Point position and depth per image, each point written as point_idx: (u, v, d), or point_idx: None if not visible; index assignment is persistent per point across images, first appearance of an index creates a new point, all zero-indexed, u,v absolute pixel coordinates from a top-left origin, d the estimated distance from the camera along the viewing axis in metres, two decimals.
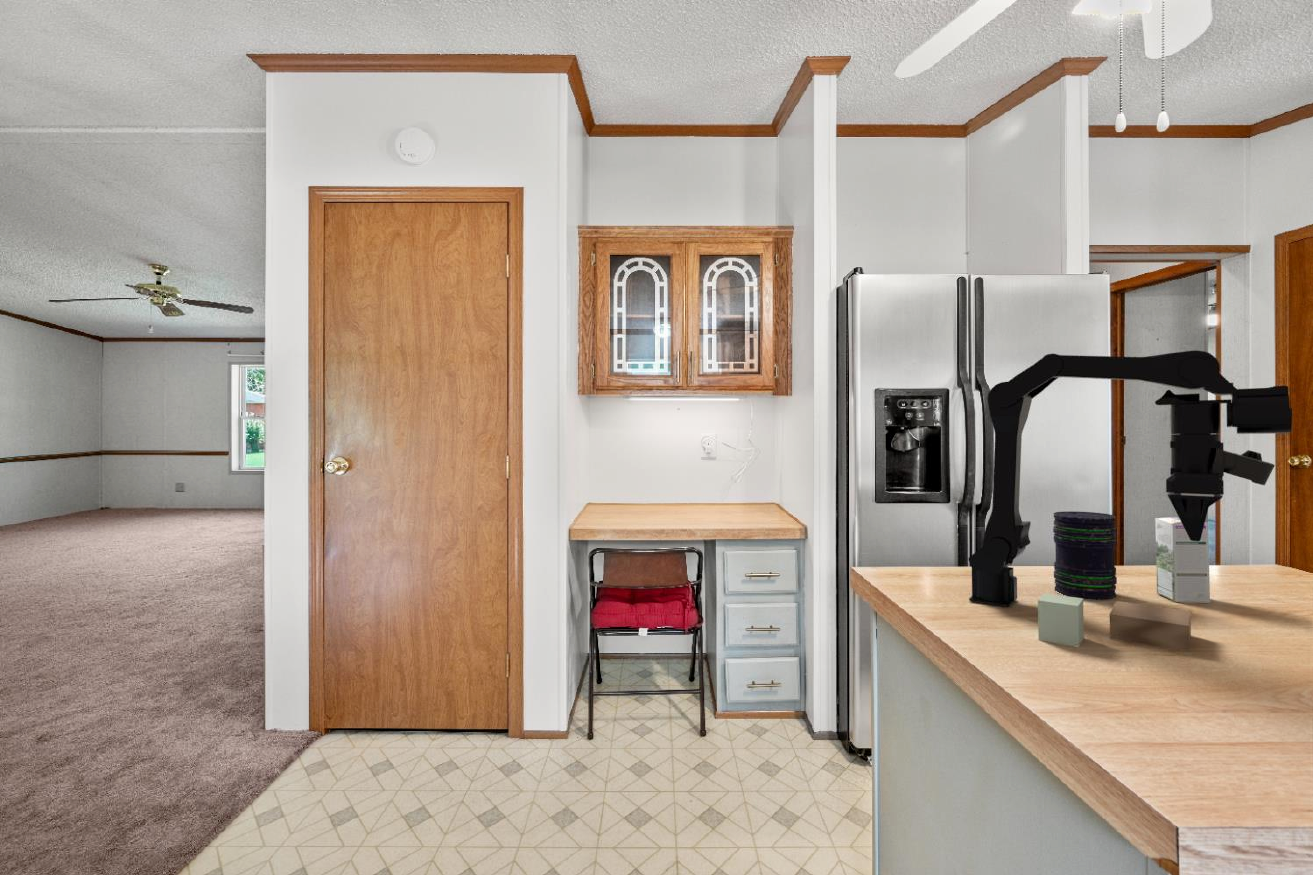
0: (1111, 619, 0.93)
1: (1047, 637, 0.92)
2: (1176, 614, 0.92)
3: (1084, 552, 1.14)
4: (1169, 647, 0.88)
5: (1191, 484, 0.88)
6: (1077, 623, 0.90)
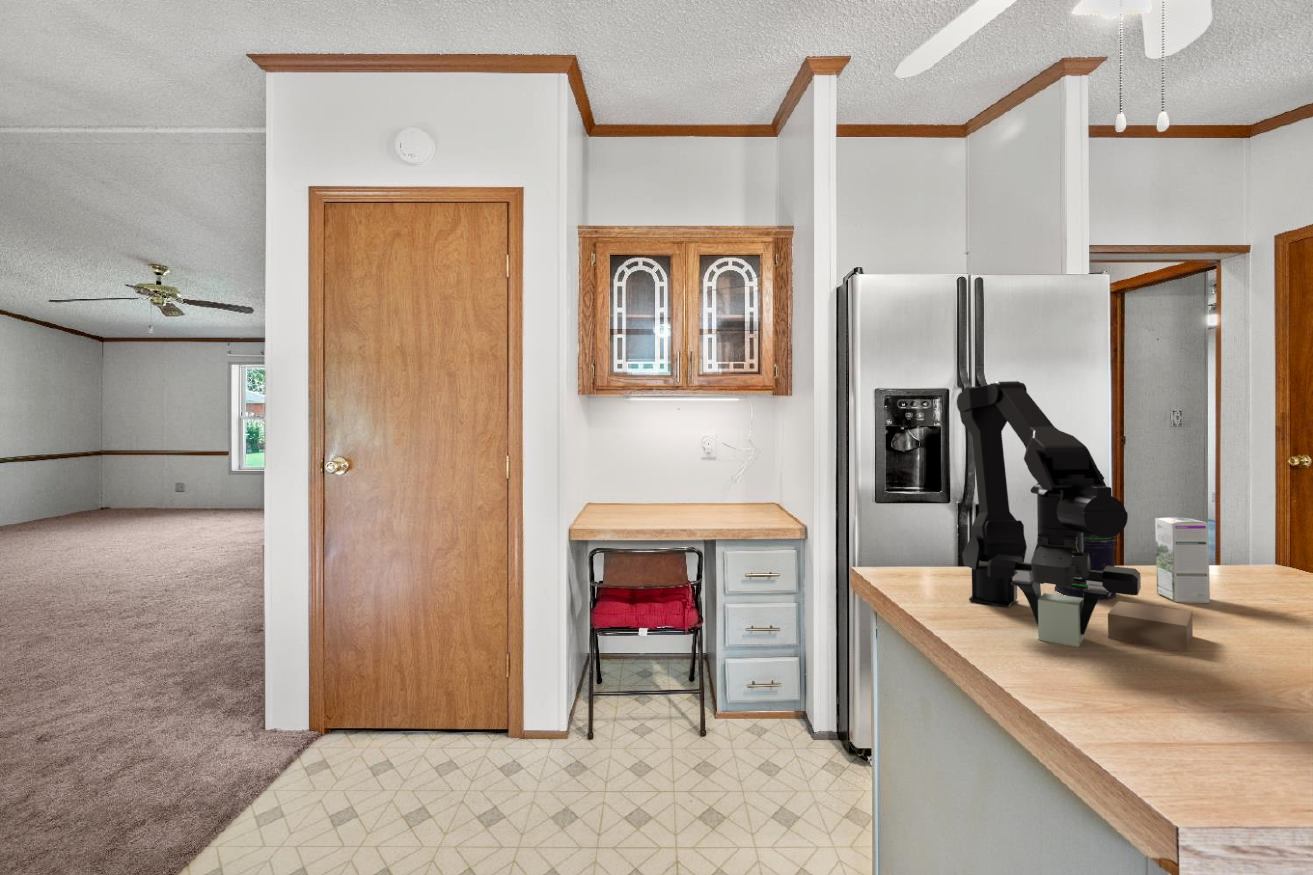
0: (1109, 619, 0.93)
1: (1047, 636, 0.92)
2: (1176, 614, 0.92)
3: None
4: (1167, 647, 0.88)
5: None
6: (1077, 622, 0.90)
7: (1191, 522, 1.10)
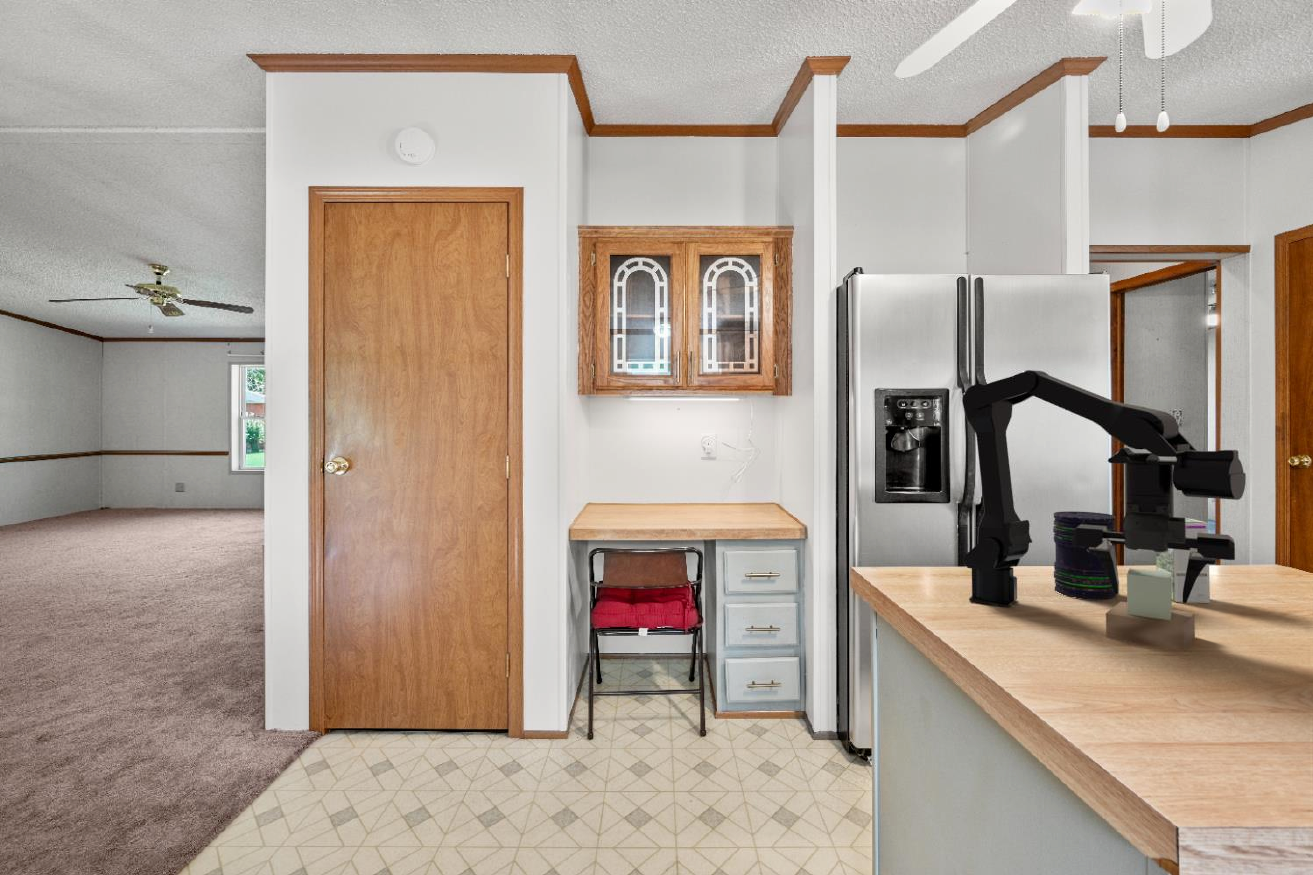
0: (1107, 618, 0.93)
1: (1136, 611, 0.92)
2: (1177, 615, 0.92)
3: (1084, 552, 1.14)
4: (1164, 647, 0.88)
5: None
6: (1169, 596, 0.90)
7: (1191, 522, 1.10)
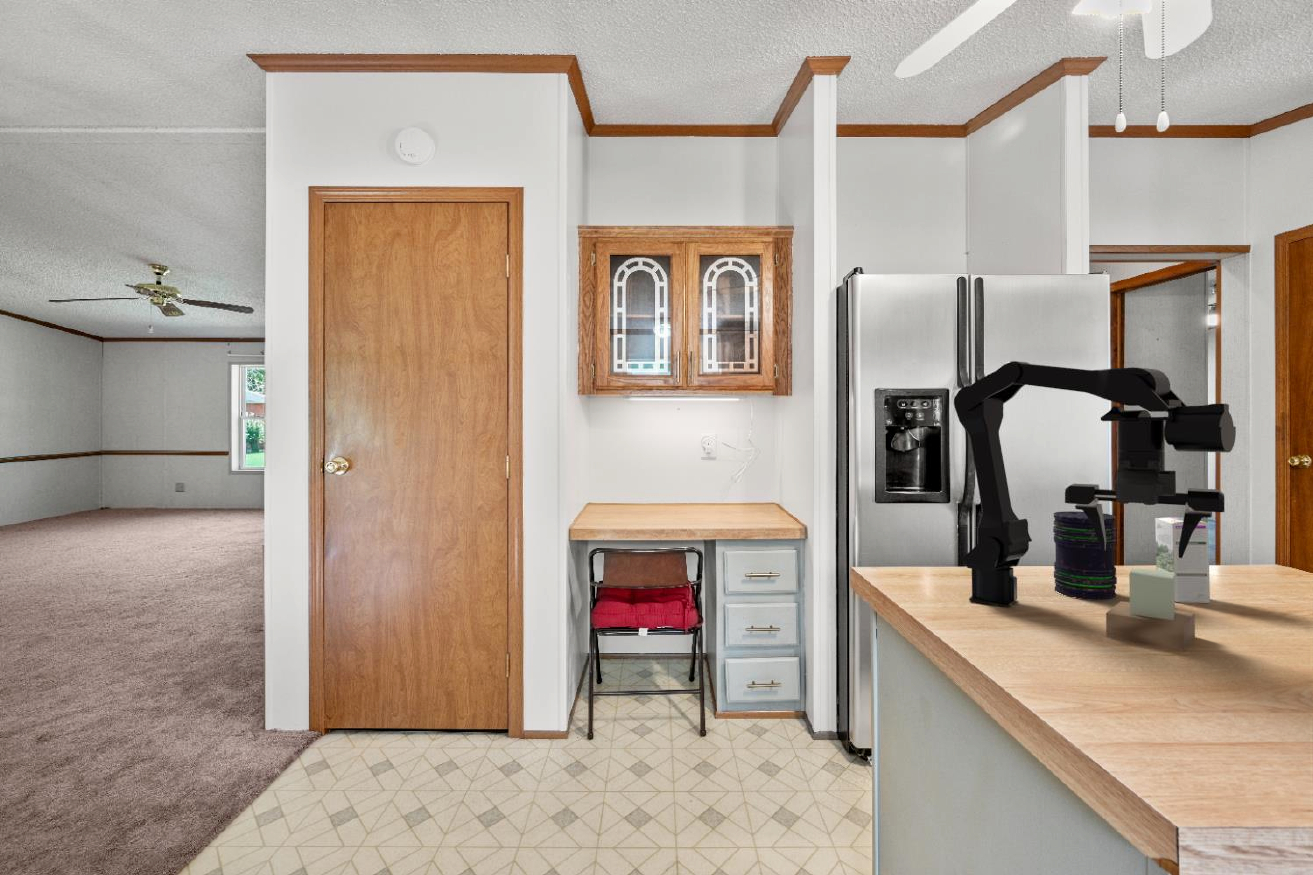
0: (1107, 618, 0.93)
1: (1139, 611, 0.92)
2: (1177, 615, 0.92)
3: (1084, 552, 1.14)
4: (1164, 647, 0.89)
5: None
6: (1172, 596, 0.90)
7: None
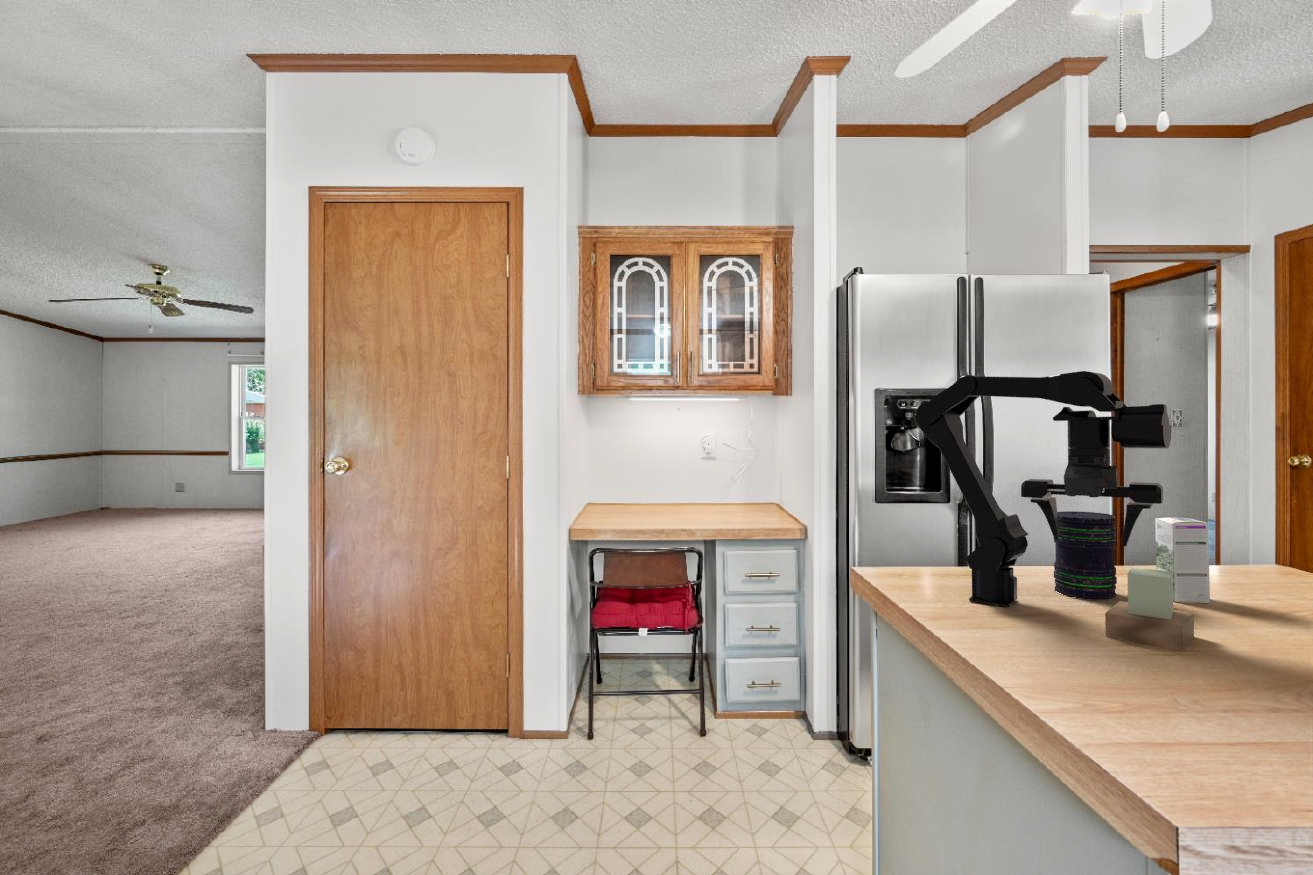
0: (1107, 618, 0.94)
1: (1137, 610, 0.92)
2: (1176, 615, 0.92)
3: (1084, 552, 1.14)
4: (1163, 647, 0.89)
5: None
6: (1170, 595, 0.90)
7: (1191, 522, 1.10)
